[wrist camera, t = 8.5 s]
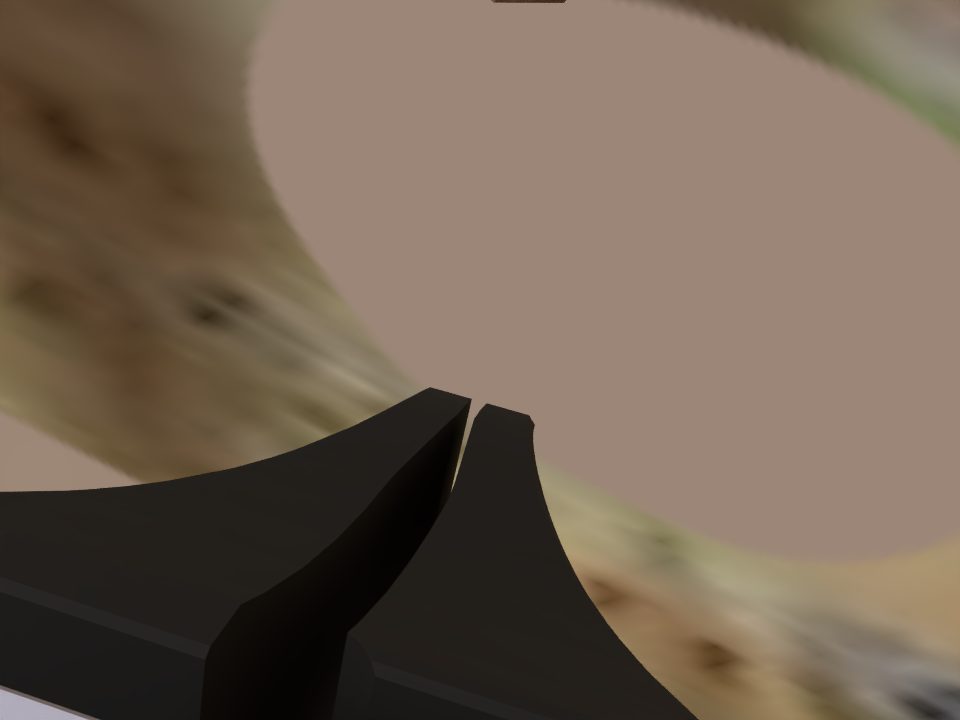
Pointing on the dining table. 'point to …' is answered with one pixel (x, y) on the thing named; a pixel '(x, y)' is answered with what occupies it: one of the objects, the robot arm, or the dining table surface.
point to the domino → (531, 0)
